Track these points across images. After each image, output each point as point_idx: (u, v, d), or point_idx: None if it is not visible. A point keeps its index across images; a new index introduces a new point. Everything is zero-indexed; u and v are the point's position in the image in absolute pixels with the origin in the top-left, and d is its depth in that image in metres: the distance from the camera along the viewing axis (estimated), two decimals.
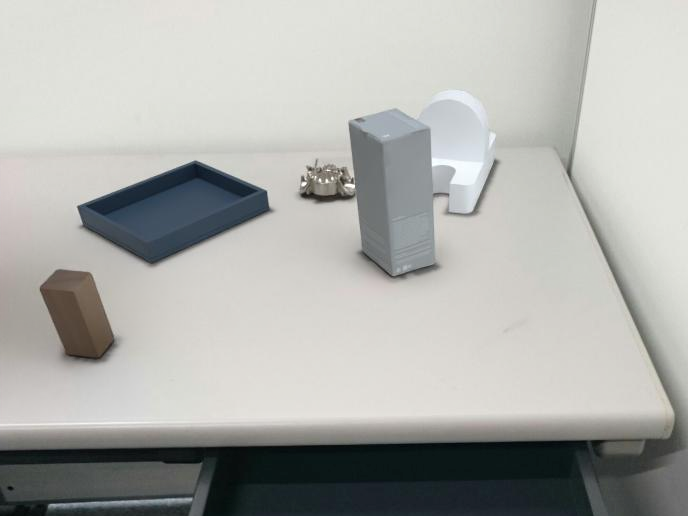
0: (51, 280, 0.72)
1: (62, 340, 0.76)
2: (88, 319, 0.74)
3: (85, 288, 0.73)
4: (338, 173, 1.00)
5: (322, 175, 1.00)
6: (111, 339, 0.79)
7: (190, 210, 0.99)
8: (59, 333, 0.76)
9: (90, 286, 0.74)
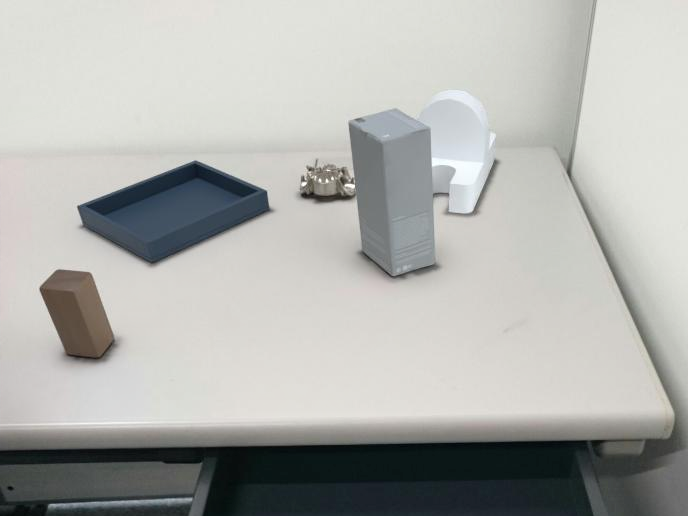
0: (51, 281, 0.72)
1: (62, 340, 0.76)
2: (88, 319, 0.74)
3: (85, 288, 0.73)
4: (338, 173, 1.00)
5: (322, 175, 1.00)
6: (111, 339, 0.79)
7: (190, 210, 0.99)
8: (59, 333, 0.76)
9: (90, 286, 0.74)
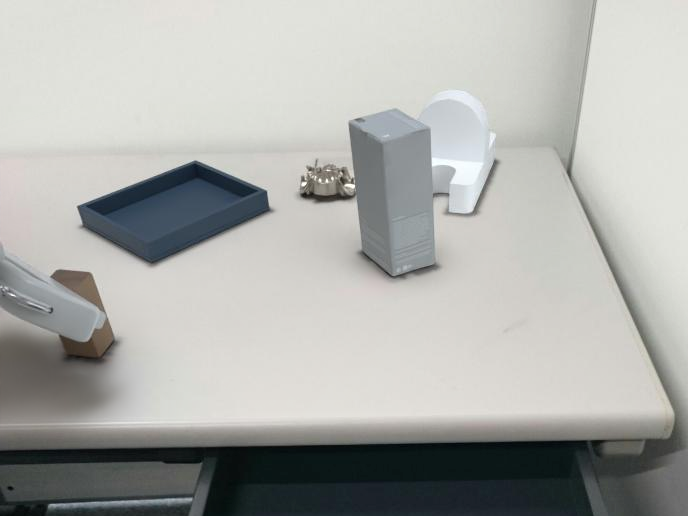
0: None
1: (62, 340, 0.76)
2: None
3: (86, 288, 0.73)
4: (338, 173, 1.00)
5: (322, 175, 1.00)
6: (111, 339, 0.79)
7: (190, 210, 0.99)
8: None
9: (90, 286, 0.74)
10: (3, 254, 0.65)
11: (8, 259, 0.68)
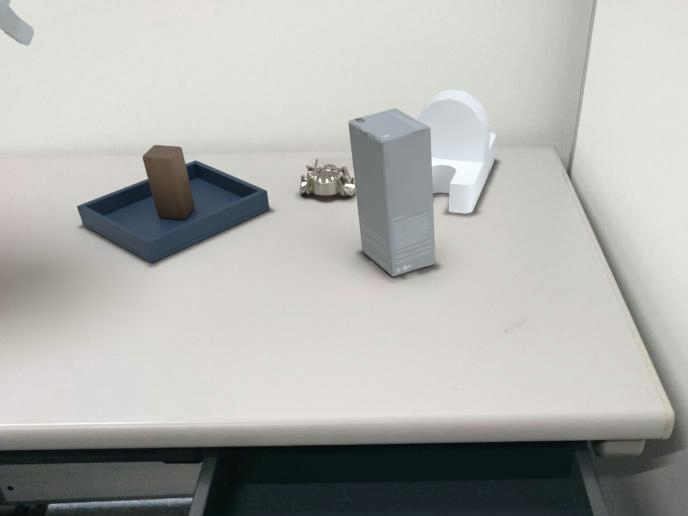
0: (151, 151, 0.92)
1: (156, 204, 0.96)
2: (179, 184, 0.94)
3: (178, 159, 0.93)
4: (338, 173, 1.00)
5: (322, 175, 1.00)
6: (193, 207, 0.98)
7: None
8: (154, 197, 0.95)
9: (180, 158, 0.93)
10: None
11: None
